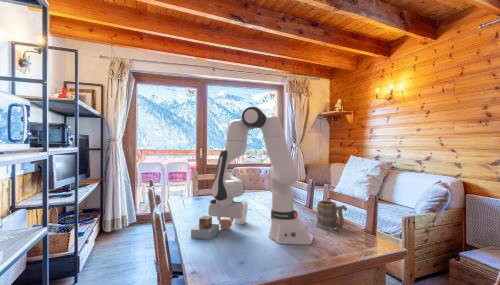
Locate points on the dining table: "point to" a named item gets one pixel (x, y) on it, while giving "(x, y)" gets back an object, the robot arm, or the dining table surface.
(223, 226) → the terracotta cube
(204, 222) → the walnut cube
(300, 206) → the dining table surface
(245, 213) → the cup
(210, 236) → the plinth
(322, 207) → the tankard
